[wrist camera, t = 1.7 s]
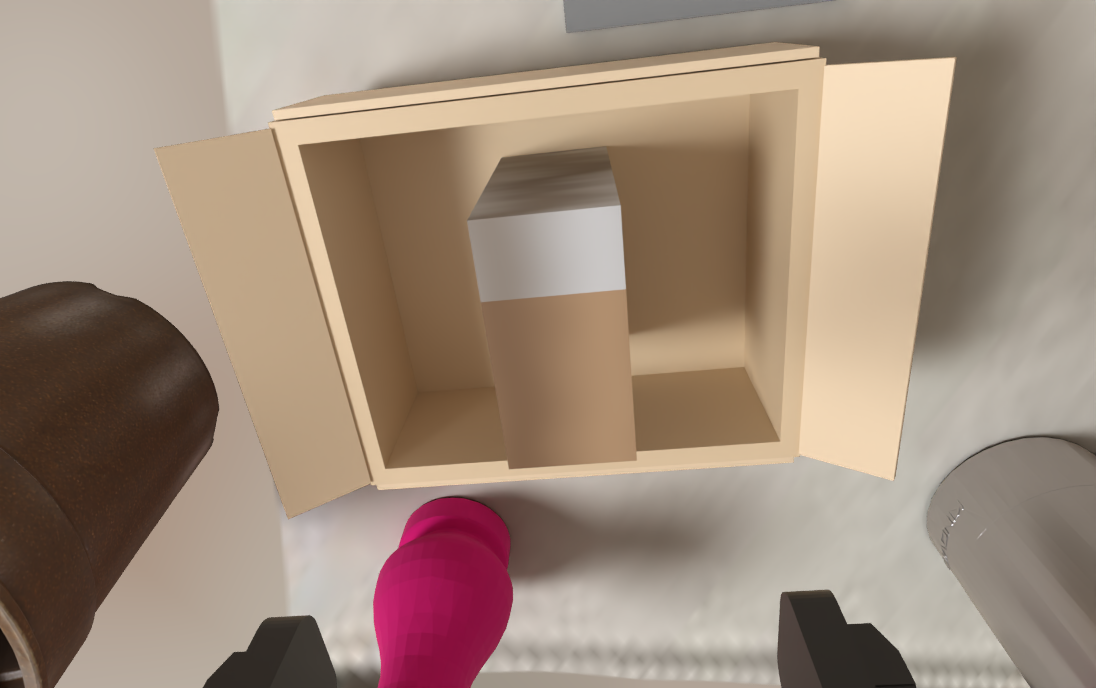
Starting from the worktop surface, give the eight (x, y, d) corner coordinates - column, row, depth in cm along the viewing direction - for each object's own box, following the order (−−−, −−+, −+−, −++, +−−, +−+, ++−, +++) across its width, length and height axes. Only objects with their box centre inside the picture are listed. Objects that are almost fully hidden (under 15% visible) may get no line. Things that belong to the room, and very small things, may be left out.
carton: (842, 31, 26) (965, 35, 18) (816, 375, 33) (896, 492, 25) (268, 99, 28) (141, 131, 20) (355, 410, 35) (287, 529, 27)
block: (606, 146, 28) (620, 205, 19) (619, 336, 32) (636, 460, 23) (501, 157, 28) (466, 220, 19) (527, 344, 32) (508, 469, 23)
